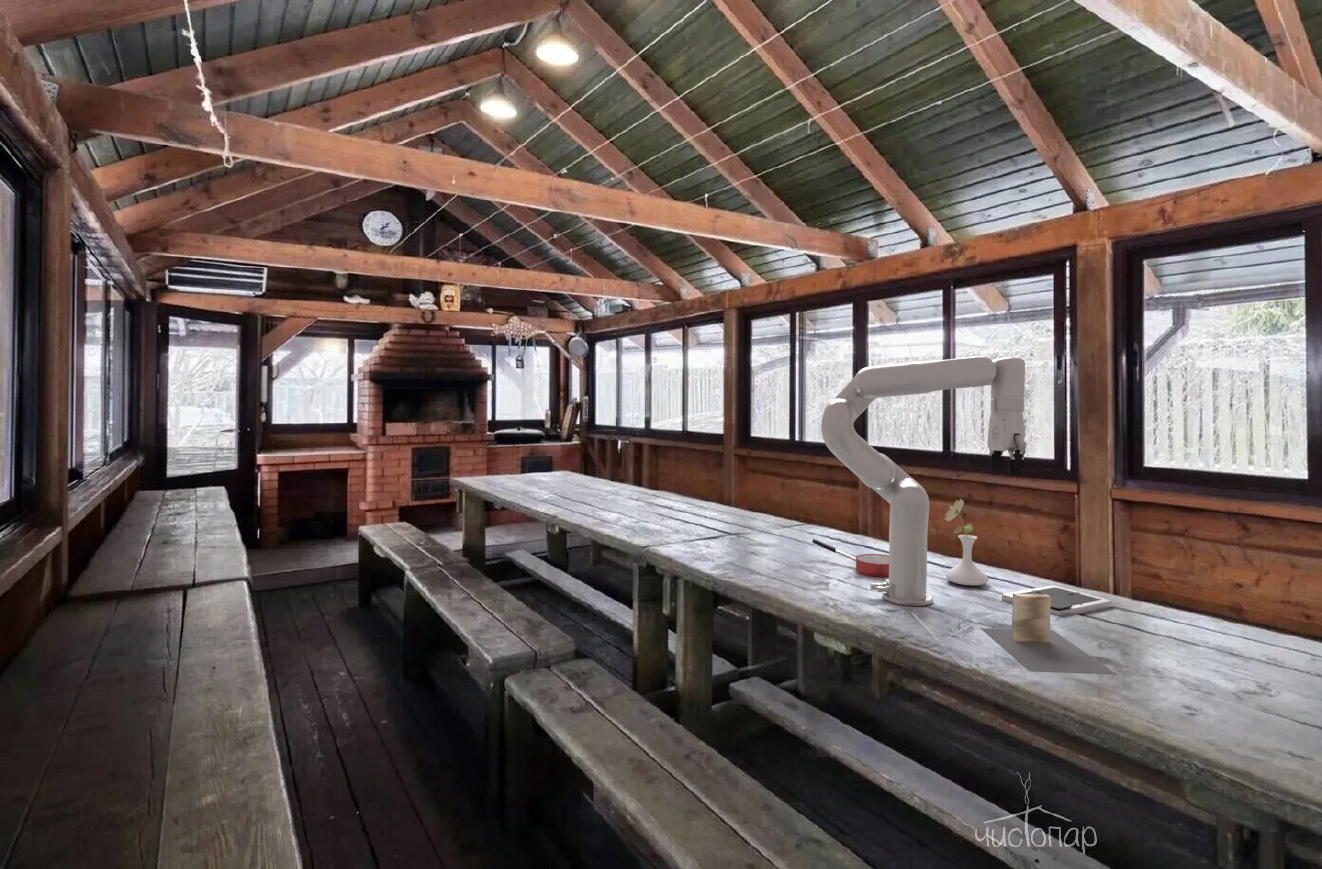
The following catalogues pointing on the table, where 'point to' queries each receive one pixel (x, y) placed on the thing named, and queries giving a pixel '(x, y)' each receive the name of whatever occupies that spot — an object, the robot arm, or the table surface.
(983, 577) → the flower in vase
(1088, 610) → the picture frame
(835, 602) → the table surface
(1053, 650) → the rubber mat
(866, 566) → the frying pan
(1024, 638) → the tile
